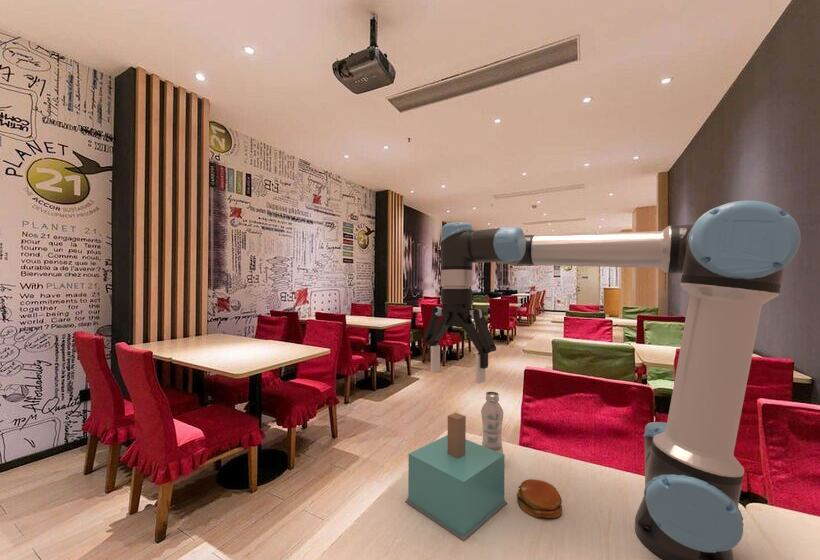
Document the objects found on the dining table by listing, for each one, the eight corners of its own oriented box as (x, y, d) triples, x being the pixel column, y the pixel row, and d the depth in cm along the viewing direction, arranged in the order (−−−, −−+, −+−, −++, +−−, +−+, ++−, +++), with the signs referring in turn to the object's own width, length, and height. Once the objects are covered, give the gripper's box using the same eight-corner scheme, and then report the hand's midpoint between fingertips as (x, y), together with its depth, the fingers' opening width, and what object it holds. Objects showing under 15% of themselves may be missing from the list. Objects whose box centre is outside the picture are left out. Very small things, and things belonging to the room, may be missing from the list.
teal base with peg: (504, 501, 80) (504, 416, 80) (463, 536, 69) (463, 437, 69) (450, 474, 91) (451, 399, 92) (408, 500, 80) (408, 415, 80)
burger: (571, 515, 76) (571, 494, 76) (536, 525, 73) (536, 503, 73) (540, 490, 85) (540, 471, 85) (509, 498, 82) (509, 478, 82)
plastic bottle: (503, 458, 101) (503, 390, 101) (504, 470, 94) (504, 398, 94) (480, 455, 102) (481, 389, 103) (480, 467, 96) (480, 396, 96)
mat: (507, 503, 80) (507, 501, 80) (463, 541, 68) (463, 539, 68) (450, 474, 92) (450, 473, 92) (405, 502, 80) (405, 500, 80)
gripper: (511, 288, 75) (512, 384, 75) (429, 287, 93) (429, 365, 93) (493, 288, 70) (493, 391, 70) (409, 287, 88) (409, 369, 88)
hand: (456, 376), depth 81 cm, fingers open, 13 cm apart
